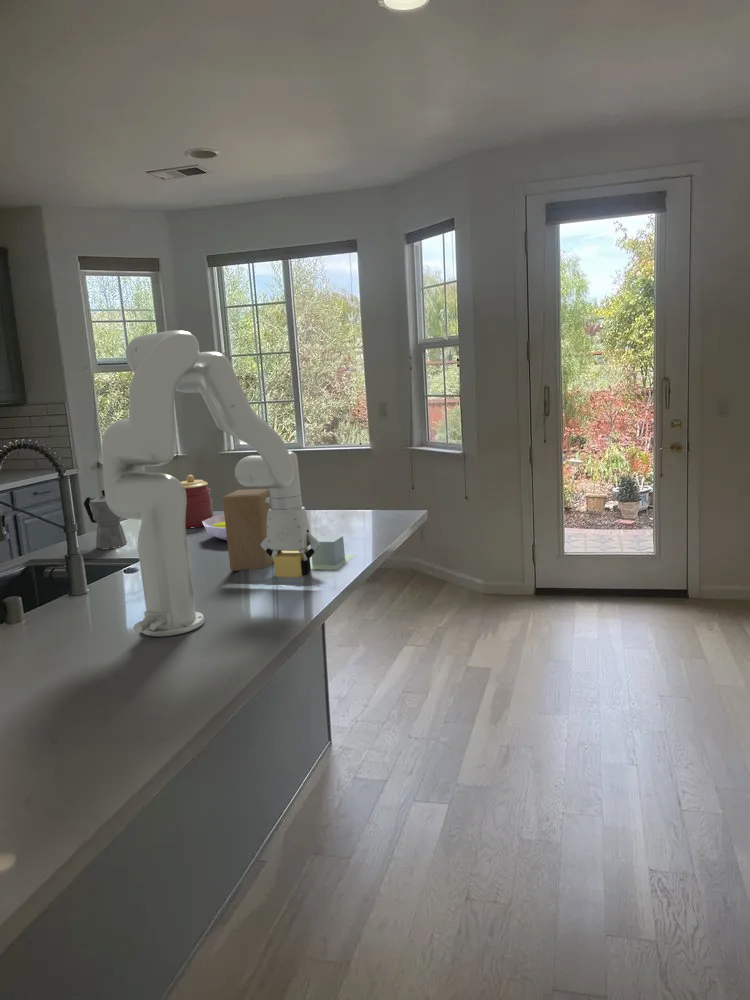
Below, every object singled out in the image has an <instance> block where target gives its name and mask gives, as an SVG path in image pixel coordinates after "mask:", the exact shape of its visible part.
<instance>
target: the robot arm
mask: <svg viewBox="0 0 750 1000" xmlns="http://www.w3.org/2000/svg"><path fill="white" fill-rule="evenodd" d="M125 359H126V363H127V364H128V367H129V368H130V370H131V371H132V372H133V375H132V378H131V381H130V383H129V385H130V386H129V390H128V391H129V392H128V413H129V414H128V418H124V419H123V418H122V419H117V420H116V421H115V422H113V423H111V424H110V425H109V426H108V427H107V429H106V430H105V432H104V435H103V437H102V441H101V442H102V443H101V456H102V473H103V490H104V491H105V498H106V502H107V505H108V507H109V508H110V510H111V511H112V512H113V513H114V514H115V515H117V516H119V517H121V518H123V519H126V520H137V521H141V524H140V528H139V532H138V534H137V535H138V536H137V551H138V560H139V565H140V573H141V581H142V582H141V583H142V589H143V595H144V602H145V609H146V611H144V612H143V615H144V616H143V617H144V618H142V620H140V621H139V622H137V623H136V624H134V626H133V630H134V632H136V633H137V634H140V633H141V634H143V635H145V636H148V637H171V636H176V635H181V634H185V633H189V632H191V631H194V630H196V629H198V628H199V627H202V625H203V624H204V623H205V617H204V614H203V613H201V612H199V611H196V605H195V596H194V589H193V581H192V573H191V565H190V563H191V562H190V557H189V547H188V539H187V530H186V526H185V518H186V505H187V496H186V491H185V488H184V486H183V485H182V483H181V482H182V481H180V479H178V478H177V477H175V476H173V475H170V474H167V473H163V472H146V467H158V466H164V465H166V464H169V462H171V461H172V460H174V457H175V454H176V449H177V439H176V438H177V436H176V418H175V414H176V413H175V393H176V392H180V393H186V394H193V393H196V394H197V393H199V394H200V395H201V397H202V399H203V400H204V403H205V404H206V406H207V409H208V411H209V412H210V415H211V417H212V418H213V421H214V423H215V426H216V427H217V428H218V429H219V430H220V431H222V432H223V433H226V434H227V435H230V436H231V437H234V438H235V439H238V440H240V441H242V442H244V443H246V444H247V445H248V446H249V447H251V448H252V449H253V450H255V451H256V452H257V453H258V454H259V455H248V456H245V457H242V459H240V460H238V462H237V463H236V465H235V468H234V476H235V479H236V481H237V482H238V483H239V485H242V486H243V487H245V488H249V489H250V488H251V489H268V490H269V496H270V497H269V499H266V500H265V502H266V504H270V507H271V509H269V510H268V512H267V525H266V531H267V537H266V538H265V539H264V540H263V542H262V543H261V544H260V545H261V547H262V548H263V549H264V550H266V552H267V554H269V555H270V556H271V559H272V560H274V559H273V557H274V556H275V555H277V554H279V553H281V552H282V551H299V553H300V555H301V557H302V559H303V560H302V561H301V567H302V576H306V575H307V574H309V573H310V572H311V570H312V569H311V566H310V558H311V556H312V555H313V554H314V553H315V551H316V550H317V549H318V548H319V546H320V545H321V544H320V542H318V541H317V540H316V537H314V536H313V535H312V533H311V529H310V527H311V526H310V523H309V518H308V514H307V511H306V508H305V506H303V503H302V493H301V492H302V491H301V482H300V473H299V472H300V471H299V462H298V456H297V453H295V452H293V451H290V450H289V449H288V448H287V446H286V444H285V442H284V440H283V438H282V437H281V436H280V435H279V433H278V432H277V431H276V430H275V429H274V428H273V427H272V426H271V425H270V424H269V423H267V422H266V420H264V419H263V418H262V417H260V416H259V415H258V414H257V413H255V412H254V411H253V409H252V407H251V404H250V402H249V400H248V398H247V396H246V393H245V392H244V390H243V387H242V385H241V382H240V380H239V379H238V376H237V374H236V372H235V370H234V367H233V366H232V363H231V361H230V360H229V358H228V357H227V356H226V355H225V354H223V353H220V352H218V351H201V352H200V344H199V340H198V338H197V337H196V335H194V334H192V333H191V332H189V331H186V330H167V331H166V330H165V331H161V332H155V333H147V334H142V335H139V336H136V337H134V338H133V339H131V340H130V342H128V344H127V346H126V349H125ZM288 450H289V451H288ZM311 544H312V547H311ZM309 546H310V549H309ZM274 571H275V569H274Z"/></svg>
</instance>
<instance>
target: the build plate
mask: <svg viewBox="0 0 750 1000" xmlns="http://www.w3.org/2000/svg"><path fill="white" fill-rule="evenodd" d="M356 556H357V554H345V559H344V560H342V561H341V562H339V563H338V564H337V565H312V556H311V558H310V566H311V570H329V571H330V570H333V571H334V570H339V569H340V568H342V567H343V566H344V565H346V564H347V562H349V561H350V560H352V559H353V558H355V557H356Z"/></svg>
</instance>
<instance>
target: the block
mask: <svg viewBox="0 0 750 1000" xmlns="http://www.w3.org/2000/svg"><path fill="white" fill-rule="evenodd" d="M269 497H270V496H269V488H251V489H237V490H235V491H233V492H230V493H228V494H227V495H223V497H222V507H223V514H224V516H225V525H226V534H227V540H226V542H227V550H228V551H227V552H228V559H229V560H228V561H229V569H230V571H231V572H234V571H240V572H242V571H244V570H250V569H253V570H254V569H258V570H259V569H266V568H268V567H269V566H271V565H272V564H274V560H272V559H271V556H270V555H269V554H267V552H266V550H264V549H263V548H262V547H261V545H260V544H261V543H262V542H263V540H264V539H265V538H266V537H267V531H266V525H267V512H268V510H269V509H271V507H270V504H266V502H265V500H266V499H269Z"/></svg>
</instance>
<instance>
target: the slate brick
mask: <svg viewBox="0 0 750 1000" xmlns="http://www.w3.org/2000/svg"><path fill="white" fill-rule="evenodd" d="M315 539H316V540H317V541H318V542H320V544H321V545H320V546H319V548H318V549H317V550H316V551H315V553H314V554H313V555H312V565H337V564H338V563H339V562H341V561H342V560H344V559H345V555H346V554H345V546H344V545H345V542H344V536H343V535H320V536H317V537H315ZM311 547H312V544H310V548H311Z"/></svg>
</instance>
